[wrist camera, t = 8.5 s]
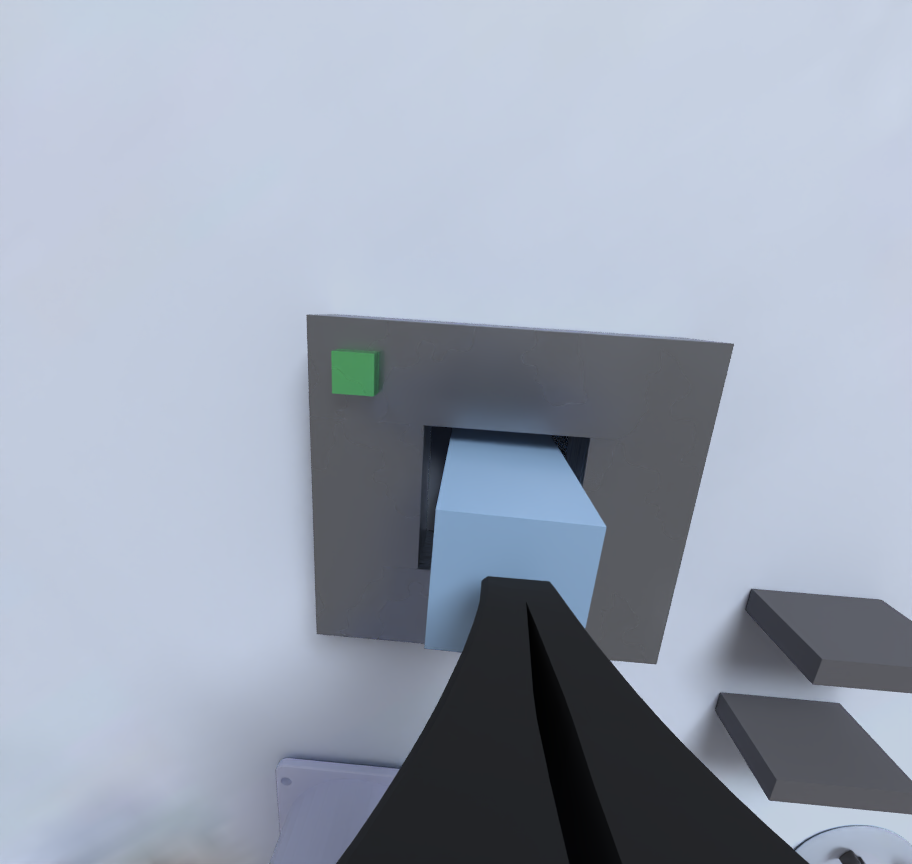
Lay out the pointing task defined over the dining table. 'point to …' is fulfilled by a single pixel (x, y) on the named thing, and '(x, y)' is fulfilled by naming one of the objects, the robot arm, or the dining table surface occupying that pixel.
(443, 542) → the plug
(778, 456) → the dining table surface
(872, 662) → the holster
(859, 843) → the beer glass
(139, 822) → the dining table surface
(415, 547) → the port block
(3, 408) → the dining table surface
